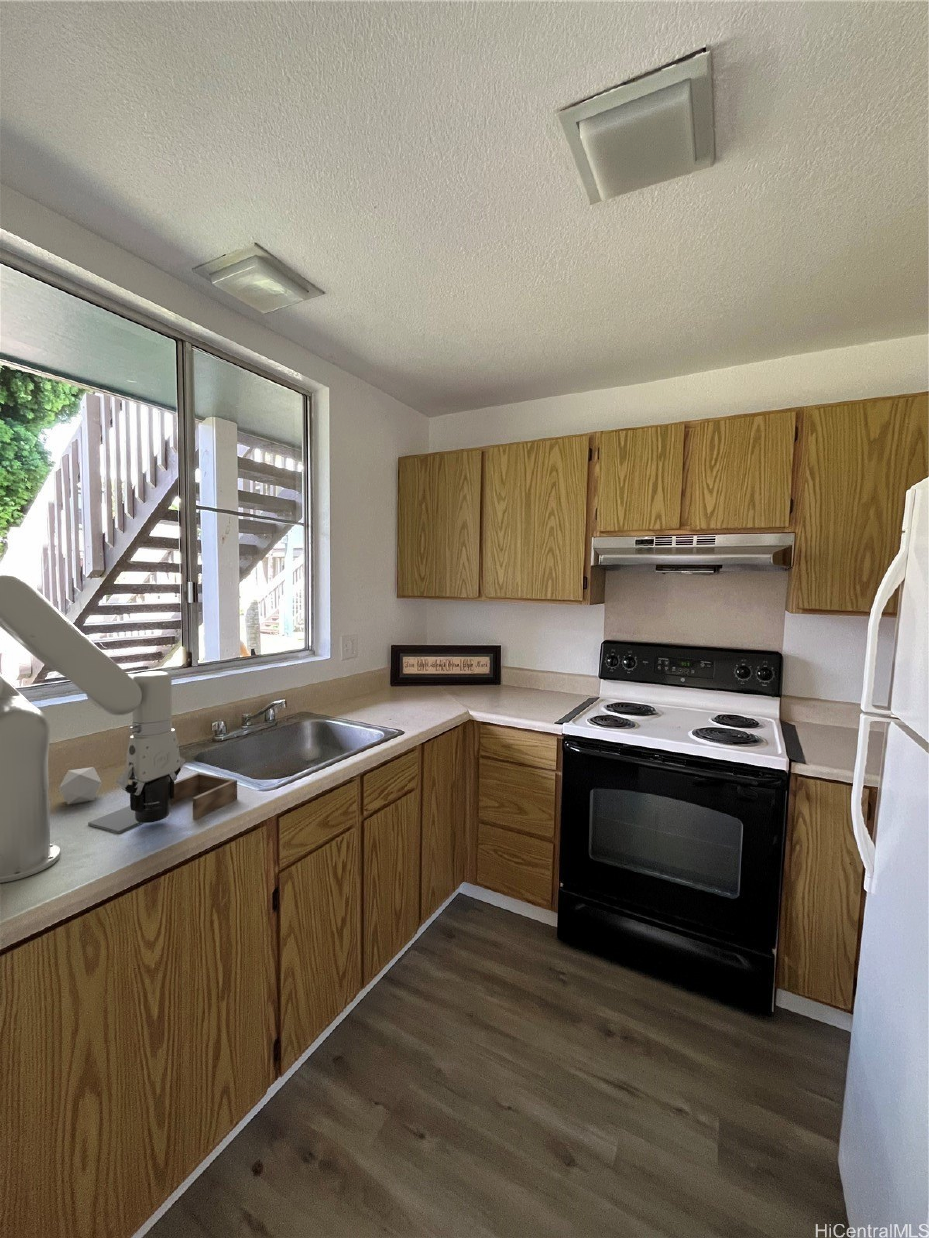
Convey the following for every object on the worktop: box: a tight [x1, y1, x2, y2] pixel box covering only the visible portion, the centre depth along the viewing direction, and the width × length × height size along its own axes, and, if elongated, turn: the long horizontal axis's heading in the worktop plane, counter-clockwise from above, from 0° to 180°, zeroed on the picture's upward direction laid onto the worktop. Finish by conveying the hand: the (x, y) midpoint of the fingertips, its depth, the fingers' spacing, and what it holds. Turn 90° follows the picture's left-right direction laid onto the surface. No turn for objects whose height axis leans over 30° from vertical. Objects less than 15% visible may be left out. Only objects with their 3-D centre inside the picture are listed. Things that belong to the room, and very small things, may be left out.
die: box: [58, 766, 103, 805], centre depth 126 cm, size 8×9×10 cm
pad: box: [87, 805, 143, 834], centre depth 117 cm, size 10×10×1 cm
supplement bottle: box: [135, 775, 171, 824], centre depth 114 cm, size 7×7×12 cm
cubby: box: [170, 772, 238, 820], centre depth 126 cm, size 12×13×5 cm
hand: (153, 803), depth 115 cm, fingers closed on supplement bottle, 6 cm apart
